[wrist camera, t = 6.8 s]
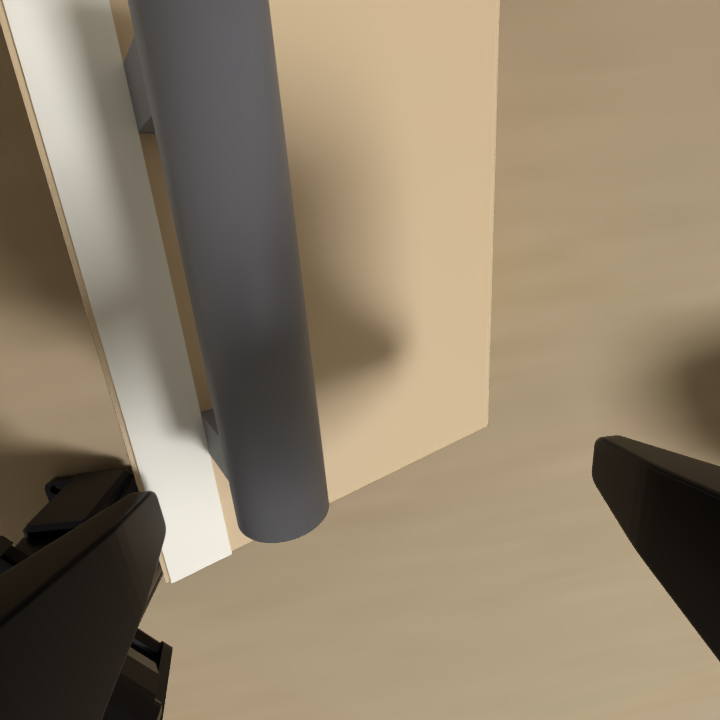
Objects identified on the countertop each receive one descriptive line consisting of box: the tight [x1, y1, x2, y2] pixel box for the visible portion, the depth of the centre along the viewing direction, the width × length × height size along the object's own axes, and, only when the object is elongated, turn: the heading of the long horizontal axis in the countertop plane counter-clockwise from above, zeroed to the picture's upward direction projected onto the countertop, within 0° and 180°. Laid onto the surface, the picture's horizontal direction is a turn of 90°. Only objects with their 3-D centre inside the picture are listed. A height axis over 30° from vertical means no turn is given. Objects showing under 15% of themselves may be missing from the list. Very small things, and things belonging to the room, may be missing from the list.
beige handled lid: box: [0, 0, 500, 583], centre depth 9 cm, size 13×11×4 cm
